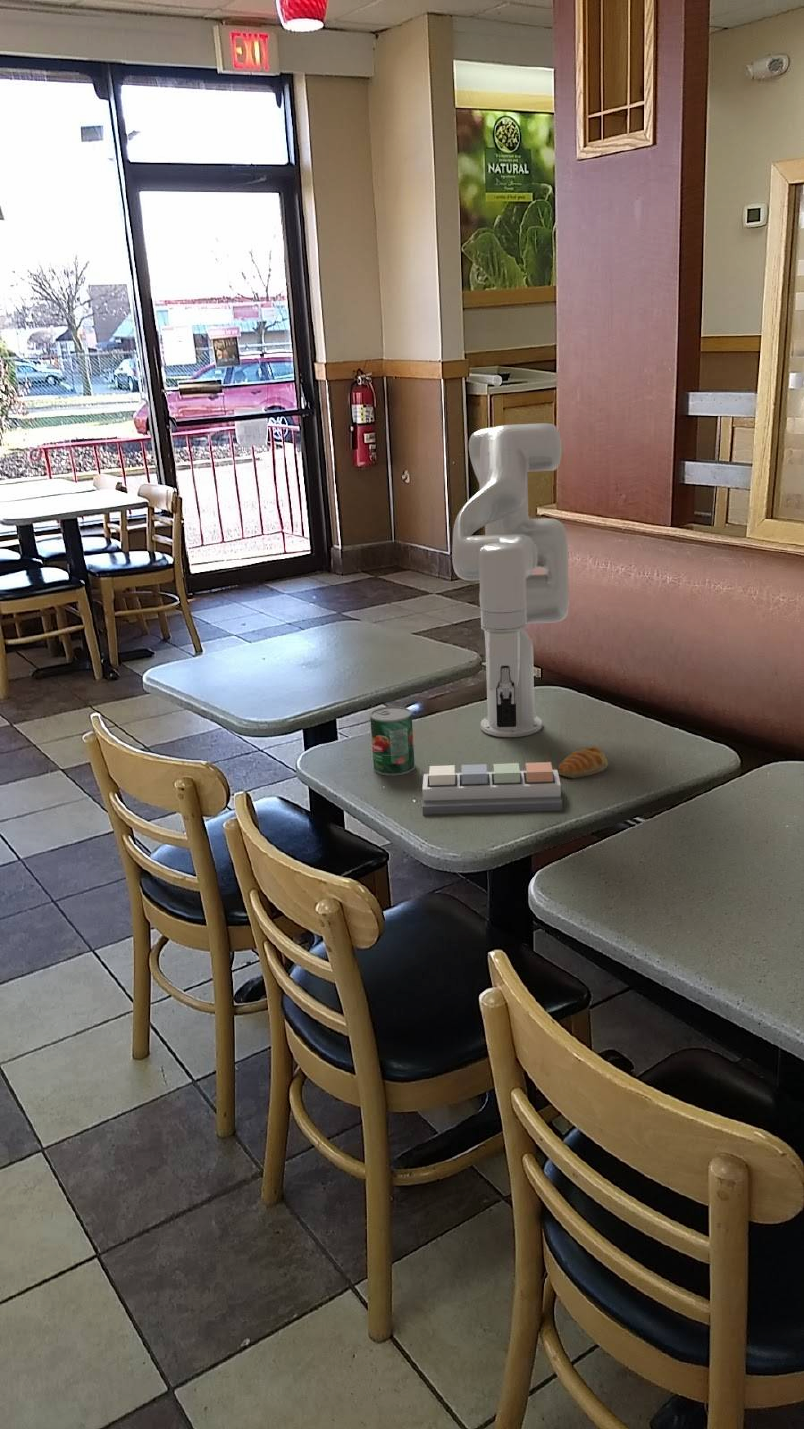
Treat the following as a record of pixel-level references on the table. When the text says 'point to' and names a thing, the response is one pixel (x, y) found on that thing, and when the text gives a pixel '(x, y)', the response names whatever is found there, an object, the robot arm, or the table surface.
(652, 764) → the table surface
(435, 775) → the ivory key
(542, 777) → the terracotta key
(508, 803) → the keypad
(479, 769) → the slate key
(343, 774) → the table surface
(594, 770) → the pastry
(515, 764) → the sage key
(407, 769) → the canned tomato
